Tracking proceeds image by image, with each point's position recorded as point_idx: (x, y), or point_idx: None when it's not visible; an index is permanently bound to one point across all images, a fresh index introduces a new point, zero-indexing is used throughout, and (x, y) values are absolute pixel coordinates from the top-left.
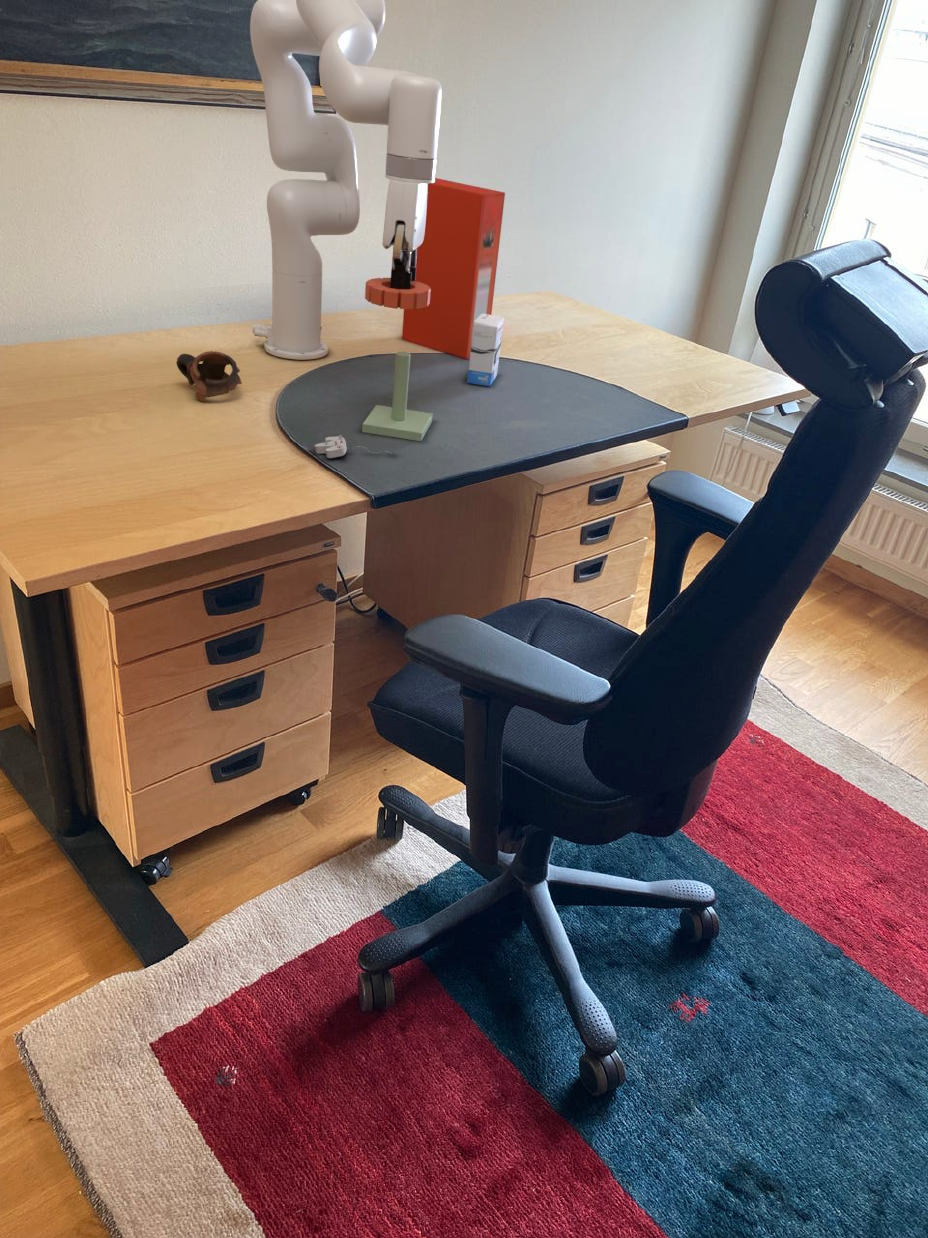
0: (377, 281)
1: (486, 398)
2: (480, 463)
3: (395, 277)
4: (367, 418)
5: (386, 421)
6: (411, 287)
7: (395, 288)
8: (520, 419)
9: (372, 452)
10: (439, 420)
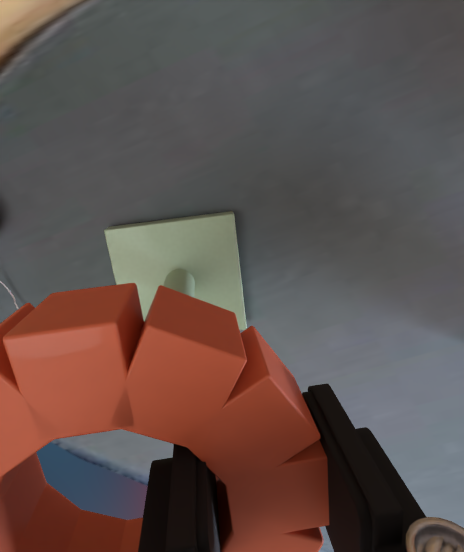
0: (105, 394)
1: (422, 365)
2: (101, 443)
3: (142, 538)
4: (140, 228)
5: (147, 268)
6: None
7: (150, 474)
8: None
9: (7, 288)
10: (260, 330)
